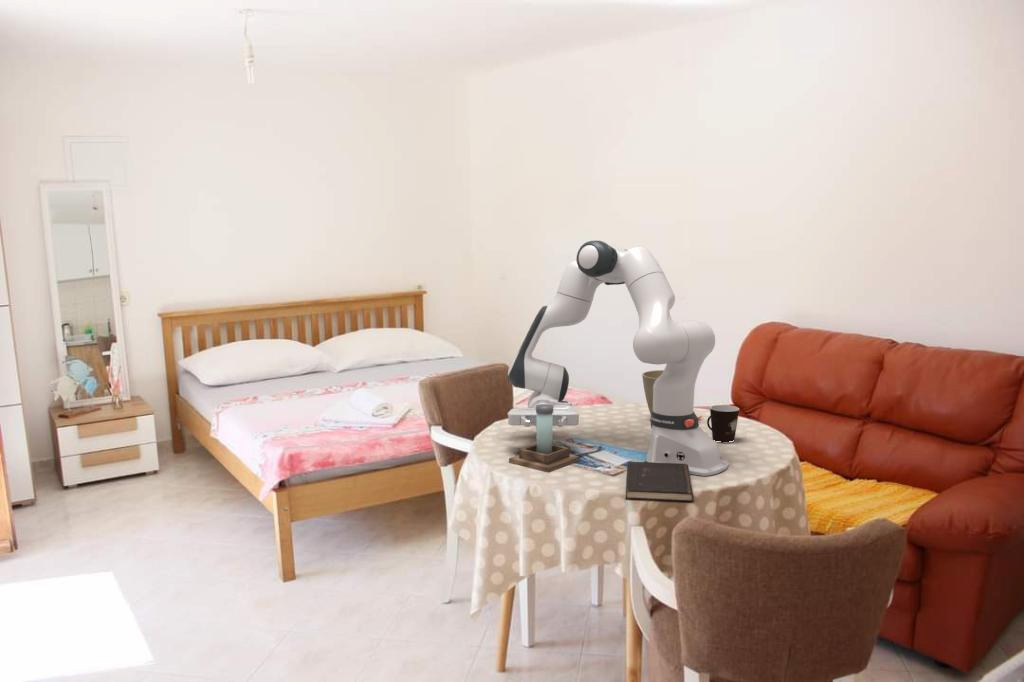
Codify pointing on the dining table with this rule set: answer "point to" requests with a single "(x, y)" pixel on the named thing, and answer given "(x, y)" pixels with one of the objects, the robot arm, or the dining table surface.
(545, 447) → the capped tube
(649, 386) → the plant pot
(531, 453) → the walnut rack
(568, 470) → the dining table surface
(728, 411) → the coffee mug
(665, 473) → the hardcover book
